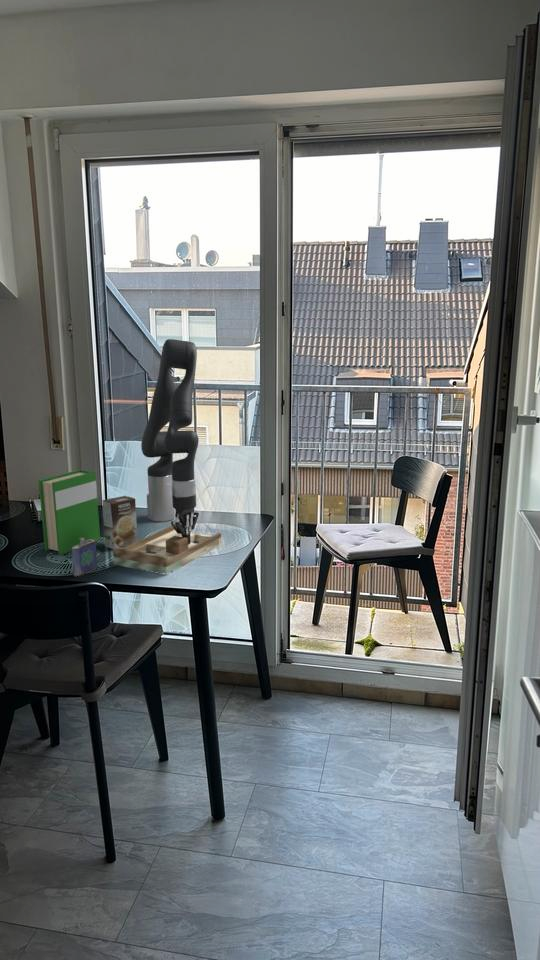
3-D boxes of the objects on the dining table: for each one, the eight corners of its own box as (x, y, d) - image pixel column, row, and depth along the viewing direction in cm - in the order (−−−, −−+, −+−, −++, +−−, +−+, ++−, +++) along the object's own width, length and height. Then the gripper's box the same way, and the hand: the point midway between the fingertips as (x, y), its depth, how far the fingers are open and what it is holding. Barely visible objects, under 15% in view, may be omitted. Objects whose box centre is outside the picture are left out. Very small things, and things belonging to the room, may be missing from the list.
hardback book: (60, 554, 224) (54, 483, 218) (45, 550, 228) (38, 480, 222) (100, 539, 238) (95, 472, 233) (85, 535, 242) (80, 469, 236)
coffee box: (114, 550, 227) (111, 503, 223) (104, 546, 231) (101, 500, 227) (138, 544, 233) (135, 498, 229) (127, 539, 238) (125, 494, 234)
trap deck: (114, 564, 214) (113, 547, 213) (172, 536, 241) (172, 521, 240) (166, 575, 205) (165, 557, 204) (221, 544, 232) (220, 528, 231)
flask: (78, 577, 204) (75, 543, 202) (70, 575, 206) (67, 541, 203) (99, 567, 212) (97, 534, 210) (92, 566, 214) (89, 533, 211)
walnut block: (166, 552, 217) (165, 540, 216) (175, 547, 222) (174, 535, 221) (179, 554, 215) (178, 542, 214) (188, 549, 219) (187, 537, 218)
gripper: (185, 486, 225) (188, 536, 230) (161, 496, 214) (164, 549, 218) (205, 489, 222) (207, 540, 226) (181, 499, 211) (184, 552, 215)
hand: (186, 544), depth 222 cm, fingers closed
